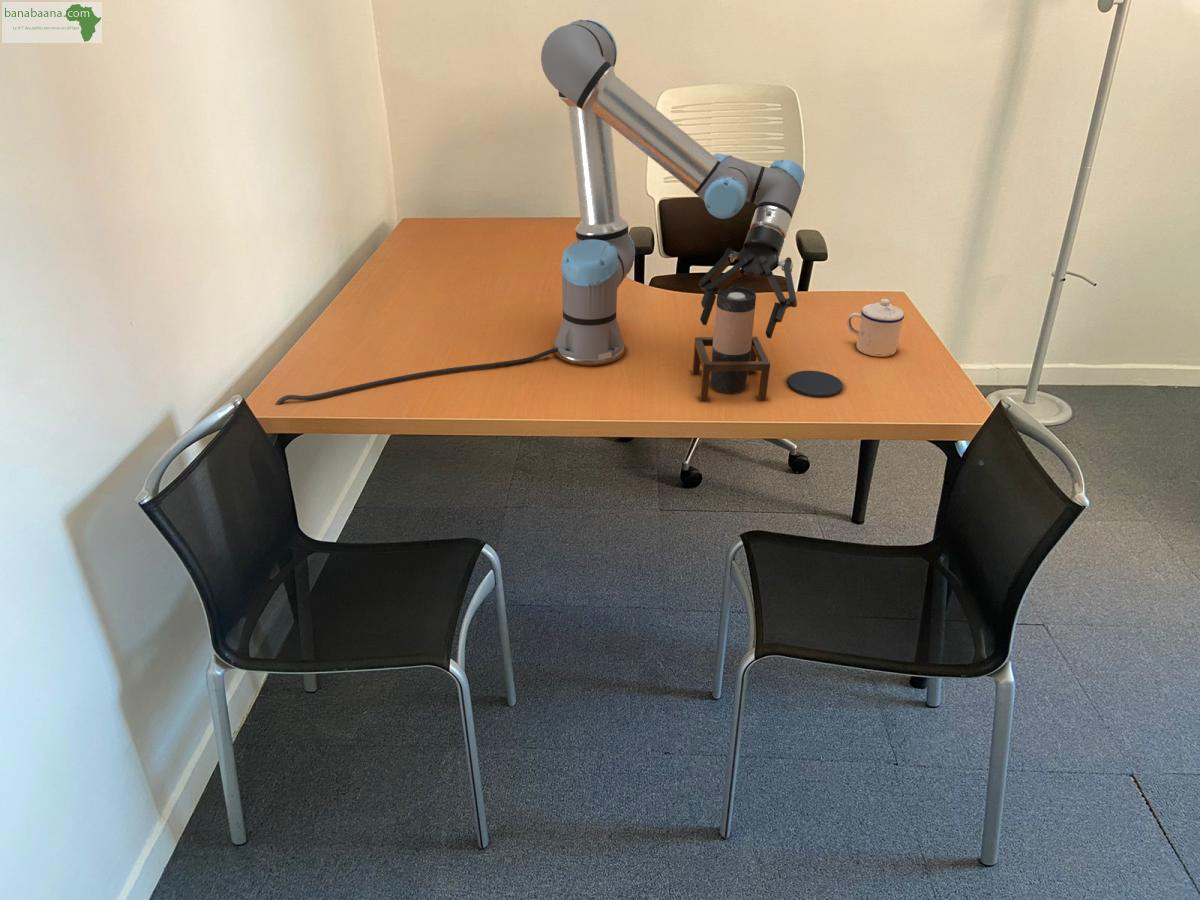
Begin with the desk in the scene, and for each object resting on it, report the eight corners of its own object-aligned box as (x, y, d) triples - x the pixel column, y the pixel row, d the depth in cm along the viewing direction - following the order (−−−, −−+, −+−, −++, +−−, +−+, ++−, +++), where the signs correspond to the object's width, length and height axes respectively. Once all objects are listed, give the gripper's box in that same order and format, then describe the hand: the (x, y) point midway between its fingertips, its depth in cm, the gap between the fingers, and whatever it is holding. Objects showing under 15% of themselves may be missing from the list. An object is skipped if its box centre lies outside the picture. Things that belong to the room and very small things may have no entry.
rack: (700, 400, 172) (703, 364, 168) (692, 371, 183) (694, 337, 179) (765, 400, 173) (770, 363, 168) (753, 371, 184) (757, 336, 180)
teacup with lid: (902, 347, 195) (912, 298, 189) (889, 361, 189) (899, 311, 183) (850, 334, 201) (859, 286, 195) (836, 348, 194) (844, 299, 188)
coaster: (794, 397, 174) (794, 395, 173) (782, 373, 183) (782, 370, 183) (848, 397, 174) (849, 394, 174) (833, 372, 184) (834, 370, 183)
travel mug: (745, 396, 174) (755, 302, 164) (707, 392, 175) (715, 298, 165) (747, 379, 180) (757, 287, 170) (711, 375, 182) (718, 284, 171)
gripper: (705, 215, 177) (672, 309, 173) (826, 233, 167) (794, 333, 164) (712, 234, 184) (681, 324, 180) (829, 252, 174) (798, 348, 170)
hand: (735, 329), depth 172 cm, fingers open, 13 cm apart
